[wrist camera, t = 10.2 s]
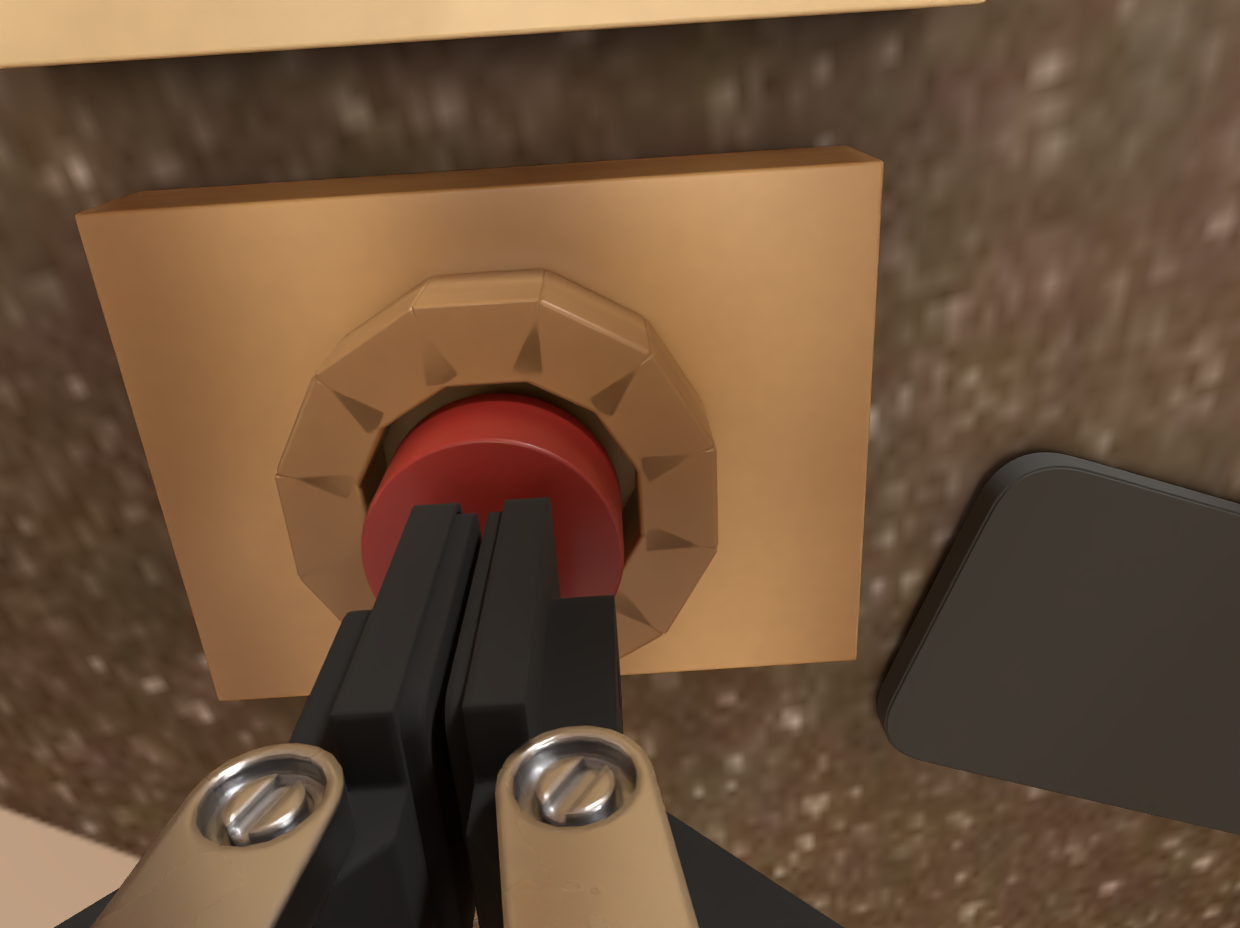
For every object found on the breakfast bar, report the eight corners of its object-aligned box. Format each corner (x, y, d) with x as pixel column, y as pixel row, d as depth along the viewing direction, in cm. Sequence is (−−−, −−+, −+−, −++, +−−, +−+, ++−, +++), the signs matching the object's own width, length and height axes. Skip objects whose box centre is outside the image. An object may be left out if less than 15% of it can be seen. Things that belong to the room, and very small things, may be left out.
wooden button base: (256, 634, 20) (179, 771, 16) (137, 191, 16) (1, 238, 12) (830, 596, 20) (884, 726, 16) (848, 144, 16) (923, 177, 12)
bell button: (405, 607, 15) (383, 675, 14) (367, 400, 14) (337, 448, 12) (627, 593, 15) (631, 658, 14) (613, 383, 14) (616, 430, 12)
